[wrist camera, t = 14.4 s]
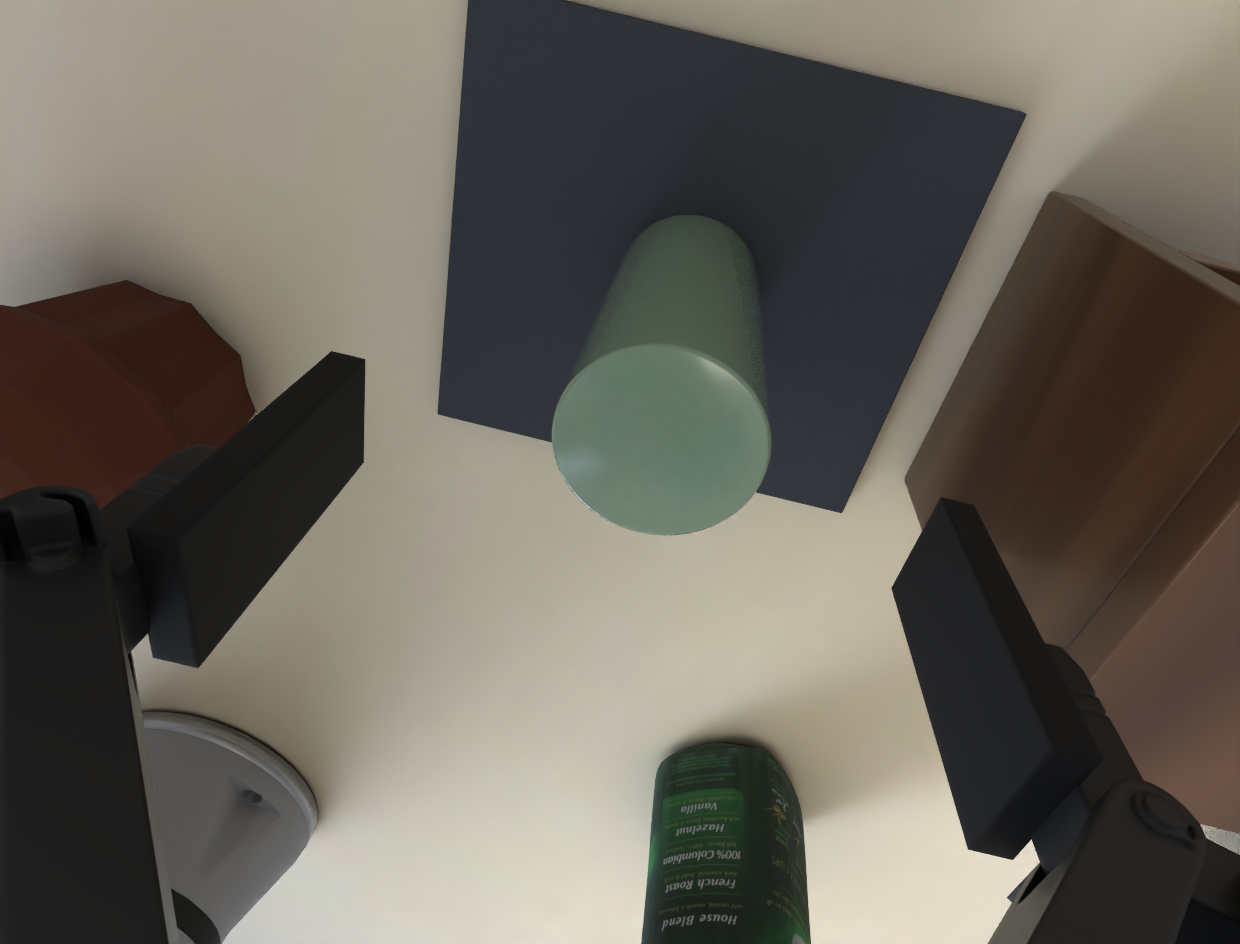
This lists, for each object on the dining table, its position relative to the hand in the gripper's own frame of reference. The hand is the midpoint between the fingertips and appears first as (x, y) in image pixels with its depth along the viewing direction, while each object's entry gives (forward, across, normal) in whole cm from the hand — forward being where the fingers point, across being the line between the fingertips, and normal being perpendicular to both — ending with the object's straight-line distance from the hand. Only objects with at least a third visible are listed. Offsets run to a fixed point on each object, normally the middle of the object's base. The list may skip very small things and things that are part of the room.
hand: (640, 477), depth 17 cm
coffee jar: (+14, +10, -29) cm, 33 cm away
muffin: (+14, -22, -10) cm, 28 cm away
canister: (+13, 0, 0) cm, 13 cm away
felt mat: (+14, 0, 0) cm, 14 cm away
